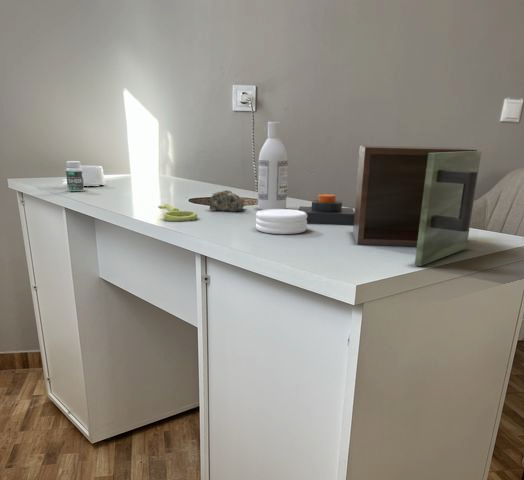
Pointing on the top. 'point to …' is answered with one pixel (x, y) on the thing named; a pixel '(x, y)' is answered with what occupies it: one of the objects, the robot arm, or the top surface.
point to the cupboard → (391, 193)
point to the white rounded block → (92, 175)
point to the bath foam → (272, 171)
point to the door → (447, 204)
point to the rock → (226, 201)
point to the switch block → (328, 213)
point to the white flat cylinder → (281, 221)
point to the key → (177, 214)
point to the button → (327, 198)
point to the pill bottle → (74, 176)
